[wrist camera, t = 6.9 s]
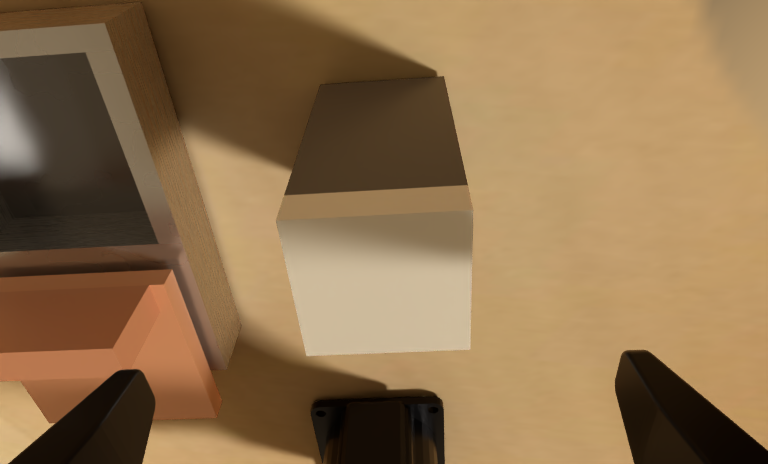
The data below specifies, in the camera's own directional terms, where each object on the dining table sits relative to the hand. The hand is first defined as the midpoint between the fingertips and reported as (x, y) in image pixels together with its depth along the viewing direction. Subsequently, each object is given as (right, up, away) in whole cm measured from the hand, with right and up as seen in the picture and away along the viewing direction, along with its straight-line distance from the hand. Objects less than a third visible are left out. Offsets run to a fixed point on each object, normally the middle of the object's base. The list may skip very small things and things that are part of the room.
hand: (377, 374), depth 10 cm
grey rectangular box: (-11, +4, +10) cm, 15 cm away
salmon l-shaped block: (-10, -2, +10) cm, 15 cm away
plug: (0, +6, +8) cm, 10 cm away
